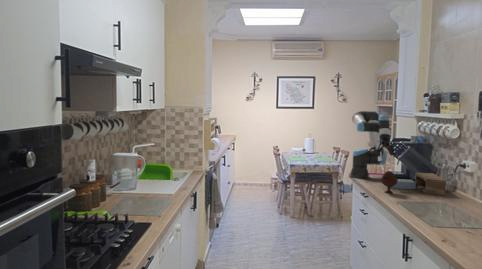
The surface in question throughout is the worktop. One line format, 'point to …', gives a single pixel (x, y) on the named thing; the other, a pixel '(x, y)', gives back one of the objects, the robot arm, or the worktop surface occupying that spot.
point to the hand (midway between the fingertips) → (386, 162)
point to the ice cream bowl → (389, 181)
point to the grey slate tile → (404, 184)
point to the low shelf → (430, 183)
